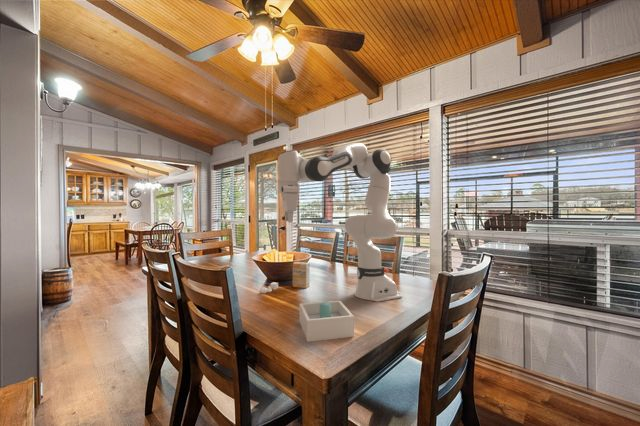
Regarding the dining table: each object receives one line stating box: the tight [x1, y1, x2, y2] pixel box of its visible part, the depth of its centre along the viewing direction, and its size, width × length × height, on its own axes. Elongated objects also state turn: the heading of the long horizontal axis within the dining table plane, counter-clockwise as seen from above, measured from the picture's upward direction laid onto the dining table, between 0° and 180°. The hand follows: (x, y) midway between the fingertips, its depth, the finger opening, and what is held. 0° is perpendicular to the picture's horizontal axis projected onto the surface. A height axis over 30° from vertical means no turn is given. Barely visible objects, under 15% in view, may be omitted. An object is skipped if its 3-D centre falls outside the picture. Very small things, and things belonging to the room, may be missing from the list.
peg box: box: [299, 300, 355, 343], centre depth 103 cm, size 16×16×7 cm
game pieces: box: [259, 281, 279, 295], centre depth 148 cm, size 12×3×3 cm, turn 153°
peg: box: [320, 301, 331, 318], centre depth 103 cm, size 4×4×9 cm
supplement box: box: [292, 261, 311, 289], centre depth 154 cm, size 8×5×13 cm, turn 70°
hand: (288, 221), depth 122 cm, fingers open, 8 cm apart
